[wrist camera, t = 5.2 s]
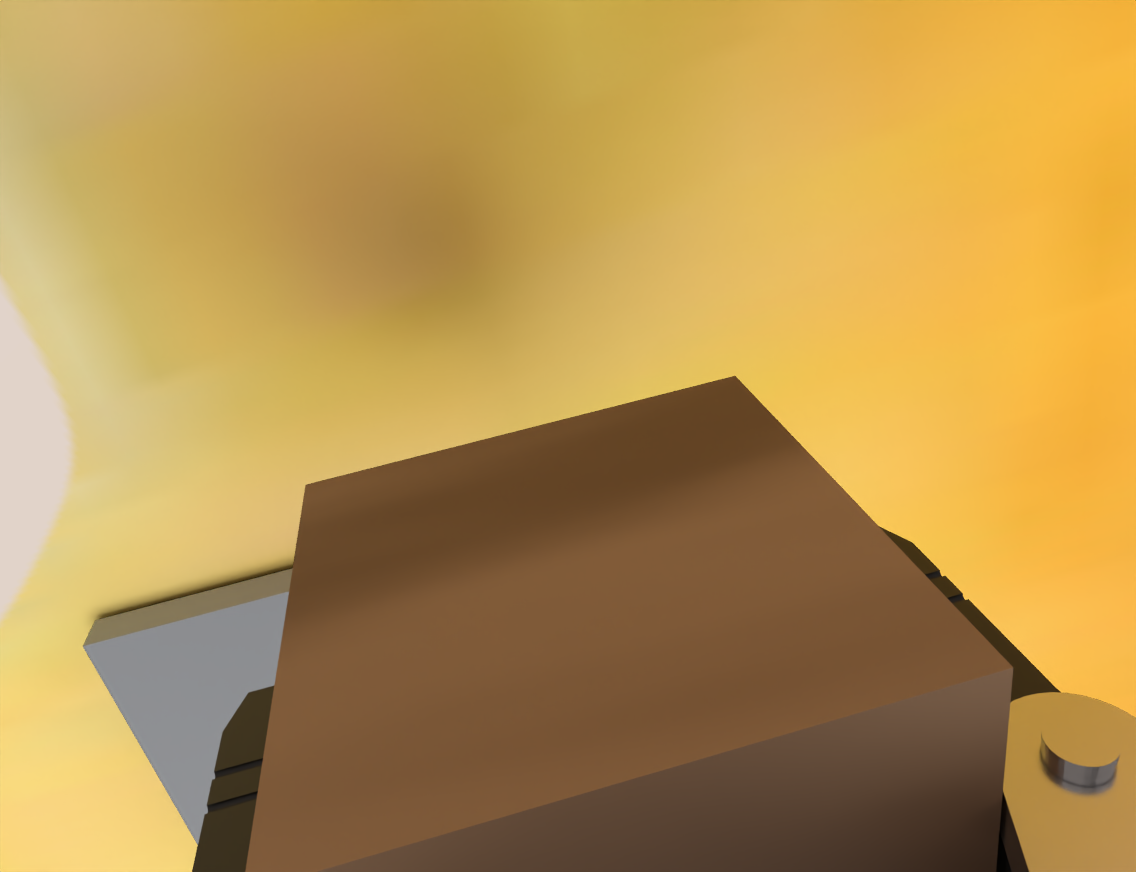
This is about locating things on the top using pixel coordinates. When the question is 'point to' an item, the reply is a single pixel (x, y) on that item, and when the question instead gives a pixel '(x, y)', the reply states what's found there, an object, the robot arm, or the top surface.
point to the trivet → (191, 676)
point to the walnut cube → (623, 664)
